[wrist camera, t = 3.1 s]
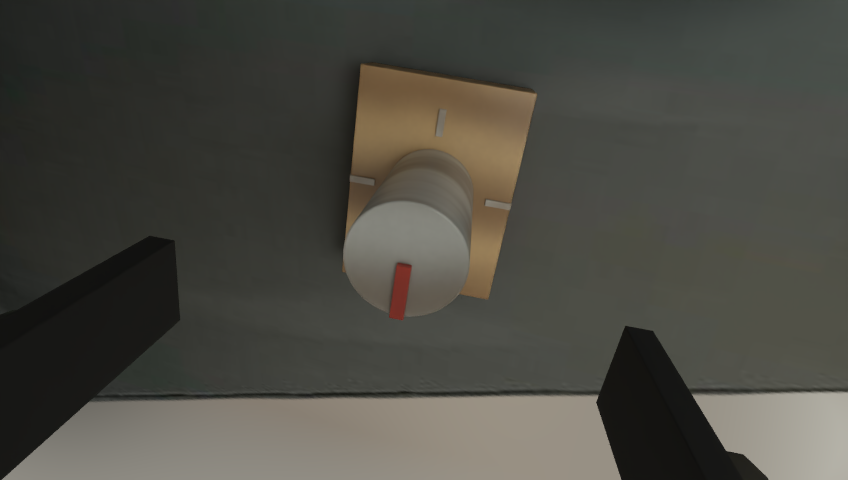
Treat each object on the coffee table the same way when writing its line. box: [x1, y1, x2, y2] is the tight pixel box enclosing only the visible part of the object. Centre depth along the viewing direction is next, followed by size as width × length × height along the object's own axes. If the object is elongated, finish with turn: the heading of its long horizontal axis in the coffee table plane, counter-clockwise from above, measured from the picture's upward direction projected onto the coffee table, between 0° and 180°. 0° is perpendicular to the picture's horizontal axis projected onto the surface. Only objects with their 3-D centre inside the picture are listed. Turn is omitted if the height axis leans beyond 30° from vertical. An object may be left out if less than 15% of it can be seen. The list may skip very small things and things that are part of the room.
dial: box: [343, 149, 473, 320], centre depth 21 cm, size 5×5×9 cm
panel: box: [342, 62, 537, 299], centre depth 27 cm, size 12×9×3 cm
